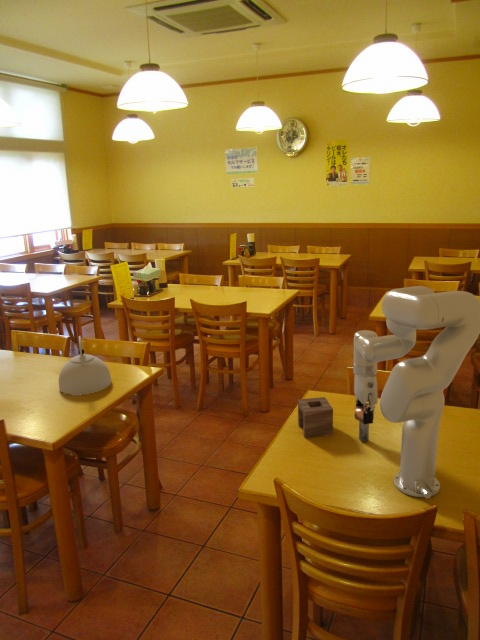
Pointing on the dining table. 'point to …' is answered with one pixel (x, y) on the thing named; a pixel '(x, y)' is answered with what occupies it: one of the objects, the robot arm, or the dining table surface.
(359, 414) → the grey peg
